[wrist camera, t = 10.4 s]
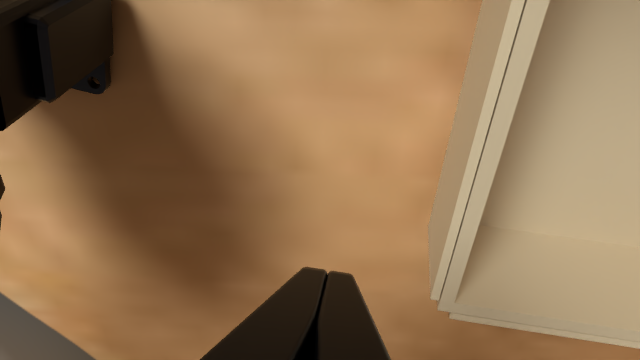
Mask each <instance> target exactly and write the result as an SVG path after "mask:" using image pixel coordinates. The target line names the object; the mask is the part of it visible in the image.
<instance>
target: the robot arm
mask: <svg viewBox="0 0 640 360" xmlns="http://www.w3.org/2000/svg"><path fill="white" fill-rule="evenodd" d="M112 55H113V33H112V10H111V0H0V131H3V130H4V129H6V128H7V127H8V126H10V125H11V124H12V123H14V122H15V121H16V120H18V119H19V118H20V117H22V116H23V115H24V114H26V113H27V112H28V111H30V110H31V109H32V108H33V107H35V106H36V105H37V104H39V103H40V102H41V101H44V102H48V103H51V102H53V101H55V100H56V99H57V98H59V97H60V96H61V95H62V94H64V93H65V92H66V91H68V90H69V89H70V88H73V89H77V90H81V91H85V92H89V93H93V94H101V93H103V92H104V91H105V90H107V89H108V88H109V86H110V83H111V77H110V57H111V56H112ZM93 77H95V78H97V80H98V81H99V83H100V84H97V83H96V82H95V81H94V80H93ZM4 191H5V186H4V183H3V180H2V177H1V175H0V199H1V197H2V195H3V193H4ZM1 218H2V214H1V212H0V228H1ZM200 360H391V359H390V356H389V354H388V352H387V350H386V347H385V345H384V343H383V341H382V339H381V336H380V334H379V332H378V330H377V327H376V325H375V323H374V321H373V319H372V316H371V314H370V312H369V310H368V308H367V305H366V303H365V301H364V299H363V296H362V294H361V292H360V290H359V288H358V285H357V283H356V281H355V279H354V277H353V275H351V274H349V273H343V272H336V271H330V272H329V273H328V275H327V272H326V271H325V270H323V269H317V268H310V267H304V268H302V269H301V270H300V271H299V272H298V273H296V274H295V275H294V276H293V277H292V278H291V279H290V280H289V281H287V282H286V283H285V284H284V285H283V286H282V287H281V288H280V289H278V290H277V291H276V292H275V293H274V294H273V295H272V296H271V297H269V298H268V299H267V300H266V301H265V302H264V303H263V304H262V305H261V306H259V307H258V308H257V309H256V310H255V311H254V312H253V313H252V314H250V315H249V316H248V317H247V318H246V319H245V320H244V321H243V322H241V323H240V324H239V325H238V326H237V327H236V328H235V329H234V330H233V331H231V332H230V333H229V334H228V335H227V336H226V337H225V338H224V339H222V340H221V341H220V342H219V343H218V344H217V345H216V346H215V347H213V348H212V349H211V350H210V351H209V352H208V353H207V354H206V355H204V356H203V357H202V358H201V359H200Z"/></svg>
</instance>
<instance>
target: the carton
mask: <svg viewBox="0 0 640 360" xmlns="http://www.w3.org/2000/svg"><path fill="white" fill-rule="evenodd" d="M428 243H429V276H430V299H432V300H437V310H440V311H446V312H449V319H454V320H461V321H467V322H473V323H480V324H486V325H492V326H499V327H505V328H511V329H518V330H524V331H530V332H537V333H543V334H550V335H556V336H562V337H569V338H575V339H581V340H588V341H594V342H600V343H607V344H613V345H619V346H626V347H632V348H638V349H640V0H482V4H481V8H480V12H479V16H478V20H477V25H476V29H475V33H474V37H473V41H472V46H471V50H470V54H469V58H468V62H467V66H466V71H465V75H464V79H463V83H462V87H461V91H460V96H459V100H458V104H457V108H456V112H455V116H454V121H453V125H452V129H451V133H450V137H449V141H448V146H447V150H446V154H445V158H444V162H443V166H442V171H441V175H440V179H439V183H438V187H437V191H436V196H435V200H434V204H433V208H432V212H431V216H430V221H429V225H428Z"/></svg>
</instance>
